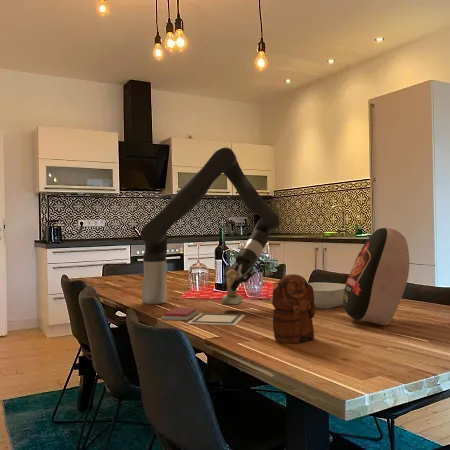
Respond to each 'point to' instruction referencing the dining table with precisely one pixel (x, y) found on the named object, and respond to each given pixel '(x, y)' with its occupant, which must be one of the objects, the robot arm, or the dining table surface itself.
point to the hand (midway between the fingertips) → (228, 289)
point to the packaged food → (378, 278)
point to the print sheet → (217, 319)
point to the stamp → (231, 295)
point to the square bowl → (328, 294)
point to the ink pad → (180, 314)
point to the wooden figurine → (293, 310)
